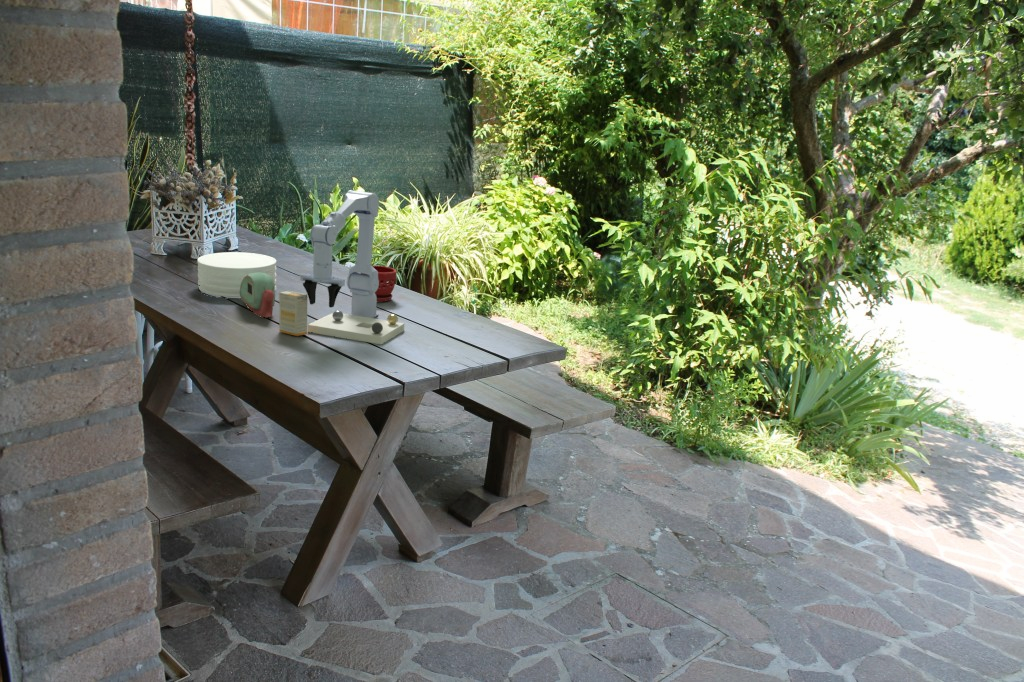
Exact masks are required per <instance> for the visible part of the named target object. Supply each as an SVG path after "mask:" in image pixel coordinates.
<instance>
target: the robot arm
mask: <svg viewBox="0 0 1024 682" xmlns="http://www.w3.org/2000/svg"><path fill="white" fill-rule="evenodd" d="M379 206H380V199H379V196H378V195H377V194H376V193H375V192H366V191H358V190H353V189H350V190H348V191H346V193H345V195H344V201H343V203H342V204H341V206H340V207H339V208H338V209H337V211H331V212H329V215H328V216H326V218H324V219H323V220H322V221H321V223H320V224H315V225H313V226H312V227H311V229H310V234H309V240H310V241H311V247H312V249H313V260H312V261H313V263H312V265H313V267H312V268H313V271H312V272H313V273H312V274H311V273H301V274H299V275H300V277H299V280H300V281H302V286H303V287H304V289H305V291H306V294H307V298H308V301H309V305H314V304H316V296H317V295H316V291H317V284H318V283H320V284H326V285H328V286H327V291H328V308H333V307H335V304H336V300H337V297H338V294H339V292H340V291H341V289H342V287H345V284H346V286H347V288H348V290H349V293H351V309H350V310H351V311H350V315H355V316H362V317H368V318H374V319H375V318H376V317H377V316H379V315H380V314H379V313H377V303H378V302H377V297H376V294H375V292H376V291H377V289H378V286H379V280H378V271H377V270H376V269H375V268H374V267H373V266H374V265H372V257H373V256H372V255H373V244H374V235H375V233H374V232H375V219H376V217H378V216H379V208H380V207H379ZM352 214H355V215H356V216H357V218H358V221H359V222H358V235H357V245H356V246H357V247H356V259H355V260H356V262H355V265H353V266H352V267H350V268H349V269H348V270H349V271H348V275H347V278H346V279H343V278H338V277H335V276H333V244H335V242H336V241H337V237H338V235H339V232H341V230H342V228H344V227H345V225H346V223H347V222H346V220H347V218H349V217H350V216H351V215H352ZM361 273H364V274H361ZM367 274H368V275H367ZM303 281H304V282H303Z"/></svg>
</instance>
